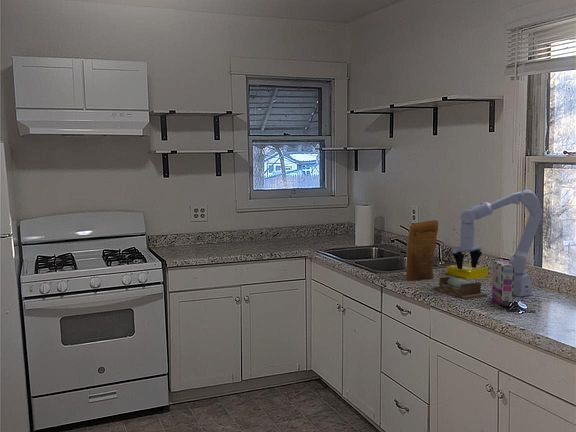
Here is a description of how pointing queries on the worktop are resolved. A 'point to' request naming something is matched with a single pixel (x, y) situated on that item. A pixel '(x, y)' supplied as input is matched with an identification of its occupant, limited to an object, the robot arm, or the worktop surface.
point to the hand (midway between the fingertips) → (466, 268)
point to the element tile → (467, 271)
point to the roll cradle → (466, 289)
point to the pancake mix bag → (421, 250)
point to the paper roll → (456, 282)
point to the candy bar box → (502, 282)
